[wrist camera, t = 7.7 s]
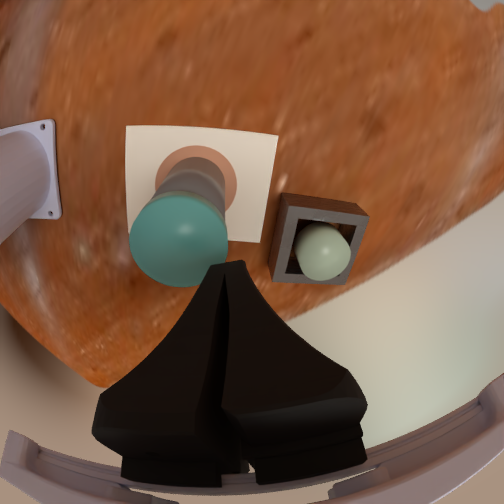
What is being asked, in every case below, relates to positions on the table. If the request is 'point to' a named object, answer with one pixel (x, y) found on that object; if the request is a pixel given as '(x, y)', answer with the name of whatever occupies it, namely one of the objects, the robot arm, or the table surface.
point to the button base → (320, 210)
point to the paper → (214, 149)
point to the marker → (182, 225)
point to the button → (321, 251)
